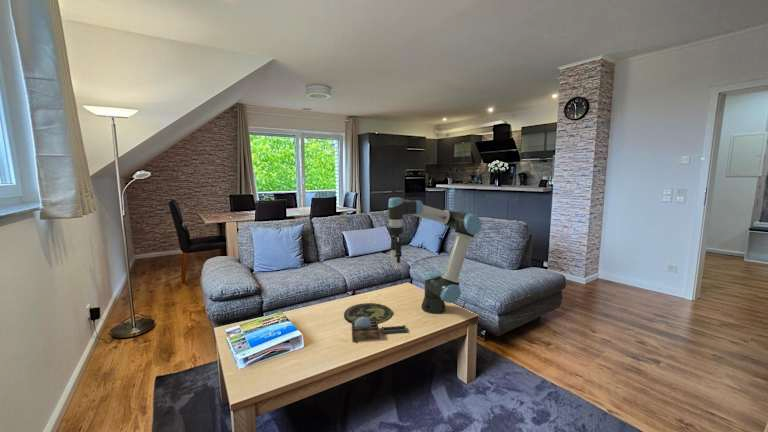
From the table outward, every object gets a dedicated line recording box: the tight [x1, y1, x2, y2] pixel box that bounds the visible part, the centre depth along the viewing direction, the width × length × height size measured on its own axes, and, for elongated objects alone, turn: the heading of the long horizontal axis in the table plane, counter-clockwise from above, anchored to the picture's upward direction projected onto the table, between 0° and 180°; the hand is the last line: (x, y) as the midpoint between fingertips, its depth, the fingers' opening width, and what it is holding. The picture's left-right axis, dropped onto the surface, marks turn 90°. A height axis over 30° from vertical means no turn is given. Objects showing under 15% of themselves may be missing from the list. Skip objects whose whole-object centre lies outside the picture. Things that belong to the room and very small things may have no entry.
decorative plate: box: [343, 302, 394, 325], centre depth 199 cm, size 30×2×30 cm
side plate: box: [354, 317, 371, 328], centre depth 173 cm, size 9×2×9 cm, turn 98°
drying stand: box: [381, 324, 408, 335], centre depth 177 cm, size 13×6×2 cm, turn 98°
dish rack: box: [351, 321, 380, 343], centre depth 173 cm, size 14×12×5 cm
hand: (396, 264), depth 177 cm, fingers open, 13 cm apart
